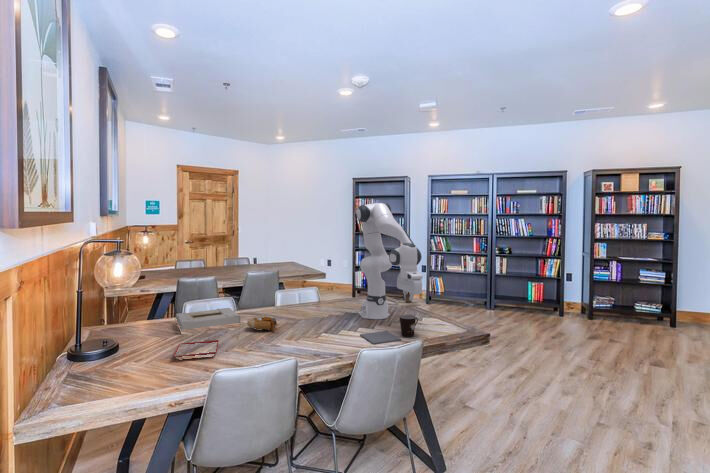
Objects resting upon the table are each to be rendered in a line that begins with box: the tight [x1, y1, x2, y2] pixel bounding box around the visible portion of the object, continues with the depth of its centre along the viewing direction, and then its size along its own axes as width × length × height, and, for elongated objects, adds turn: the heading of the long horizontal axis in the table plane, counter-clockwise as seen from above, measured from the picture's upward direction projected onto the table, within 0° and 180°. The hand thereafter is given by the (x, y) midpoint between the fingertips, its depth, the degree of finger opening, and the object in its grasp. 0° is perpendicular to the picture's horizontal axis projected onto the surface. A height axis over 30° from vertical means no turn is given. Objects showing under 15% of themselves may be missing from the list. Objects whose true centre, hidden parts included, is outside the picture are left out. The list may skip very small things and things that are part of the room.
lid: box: [396, 293, 422, 308], centre depth 207 cm, size 13×13×5 cm
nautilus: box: [246, 314, 279, 334], centre depth 216 cm, size 8×22×15 cm
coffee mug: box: [399, 314, 419, 338], centre depth 208 cm, size 12×9×10 cm
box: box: [175, 307, 241, 330], centre depth 227 cm, size 23×8×32 cm
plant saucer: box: [173, 339, 220, 358], centre depth 180 cm, size 18×18×3 cm
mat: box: [359, 330, 402, 345], centre depth 203 cm, size 16×16×1 cm
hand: (408, 299), depth 207 cm, fingers closed on lid, 3 cm apart
